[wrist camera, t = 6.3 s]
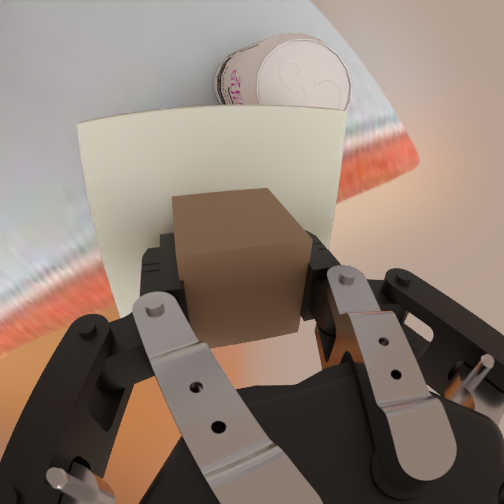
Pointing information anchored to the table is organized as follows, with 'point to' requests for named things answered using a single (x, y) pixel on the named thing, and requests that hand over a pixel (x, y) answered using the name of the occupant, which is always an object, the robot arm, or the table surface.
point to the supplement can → (285, 74)
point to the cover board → (202, 164)
